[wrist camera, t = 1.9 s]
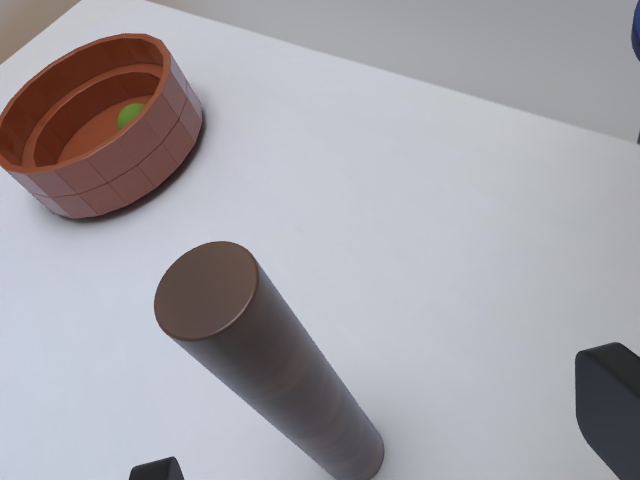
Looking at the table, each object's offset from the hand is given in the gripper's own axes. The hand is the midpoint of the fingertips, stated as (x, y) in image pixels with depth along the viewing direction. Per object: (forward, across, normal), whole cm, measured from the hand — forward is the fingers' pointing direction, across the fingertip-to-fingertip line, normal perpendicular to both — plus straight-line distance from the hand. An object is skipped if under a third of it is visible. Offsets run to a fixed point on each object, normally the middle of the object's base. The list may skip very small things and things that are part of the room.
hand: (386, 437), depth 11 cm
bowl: (+40, +12, 0) cm, 42 cm away
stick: (+13, 0, +12) cm, 17 cm away
